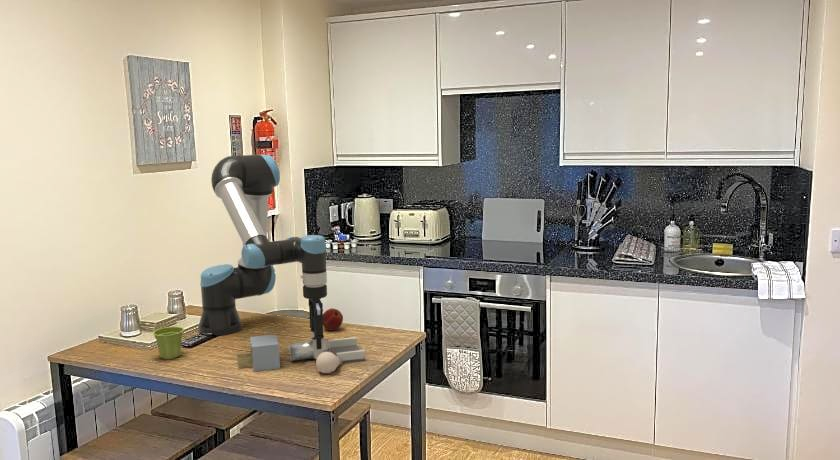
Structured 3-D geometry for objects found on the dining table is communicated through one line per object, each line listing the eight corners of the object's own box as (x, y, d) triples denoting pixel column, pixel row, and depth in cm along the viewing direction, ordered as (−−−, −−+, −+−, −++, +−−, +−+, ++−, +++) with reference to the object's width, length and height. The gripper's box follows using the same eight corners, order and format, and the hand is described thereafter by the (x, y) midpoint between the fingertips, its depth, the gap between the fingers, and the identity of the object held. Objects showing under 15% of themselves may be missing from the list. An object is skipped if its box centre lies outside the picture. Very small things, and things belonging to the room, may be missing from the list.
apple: (330, 334, 233) (330, 312, 232) (317, 329, 239) (316, 308, 237) (346, 329, 239) (346, 308, 237) (333, 325, 244) (332, 304, 243)
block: (251, 360, 208) (250, 337, 207) (276, 357, 211) (275, 334, 209) (253, 371, 199) (251, 347, 198) (280, 368, 201) (278, 344, 200)
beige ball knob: (333, 347, 205) (315, 349, 195) (351, 354, 203) (333, 356, 193) (328, 367, 205) (309, 370, 195) (345, 374, 203) (327, 377, 193)
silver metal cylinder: (291, 364, 206) (291, 351, 203) (289, 352, 210) (289, 339, 207) (329, 360, 209) (329, 347, 206) (326, 348, 214) (326, 335, 211)
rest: (329, 349, 218) (329, 339, 217) (356, 346, 220) (355, 337, 220) (337, 363, 204) (337, 354, 204) (365, 360, 207) (365, 350, 206)
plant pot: (155, 353, 216) (153, 328, 214) (186, 349, 219) (184, 325, 217) (154, 363, 207) (152, 336, 206) (185, 359, 210) (183, 333, 209)
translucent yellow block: (237, 365, 205) (237, 354, 204) (263, 362, 207) (263, 351, 207) (238, 369, 201) (237, 358, 201) (265, 365, 204) (264, 355, 203)
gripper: (299, 278, 213) (301, 346, 217) (306, 292, 196) (309, 366, 200) (322, 277, 215) (324, 344, 219) (331, 290, 198) (334, 363, 202)
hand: (317, 354), depth 209 cm, fingers closed on silver metal cylinder, 6 cm apart
